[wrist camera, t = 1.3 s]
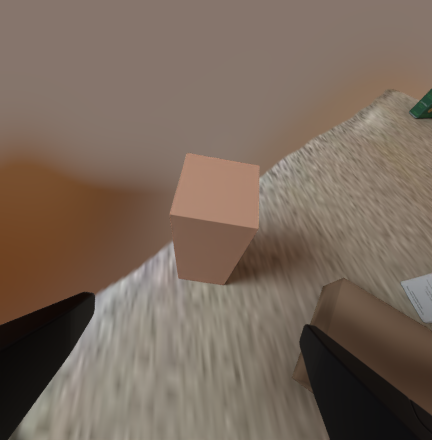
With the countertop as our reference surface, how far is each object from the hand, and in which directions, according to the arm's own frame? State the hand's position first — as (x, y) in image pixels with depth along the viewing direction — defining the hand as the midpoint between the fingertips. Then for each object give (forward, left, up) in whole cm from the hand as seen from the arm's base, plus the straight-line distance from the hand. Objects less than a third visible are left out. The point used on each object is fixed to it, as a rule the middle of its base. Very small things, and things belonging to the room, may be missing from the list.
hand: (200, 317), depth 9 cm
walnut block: (+7, -15, -13) cm, 21 cm away
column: (+7, +3, -13) cm, 15 cm away
